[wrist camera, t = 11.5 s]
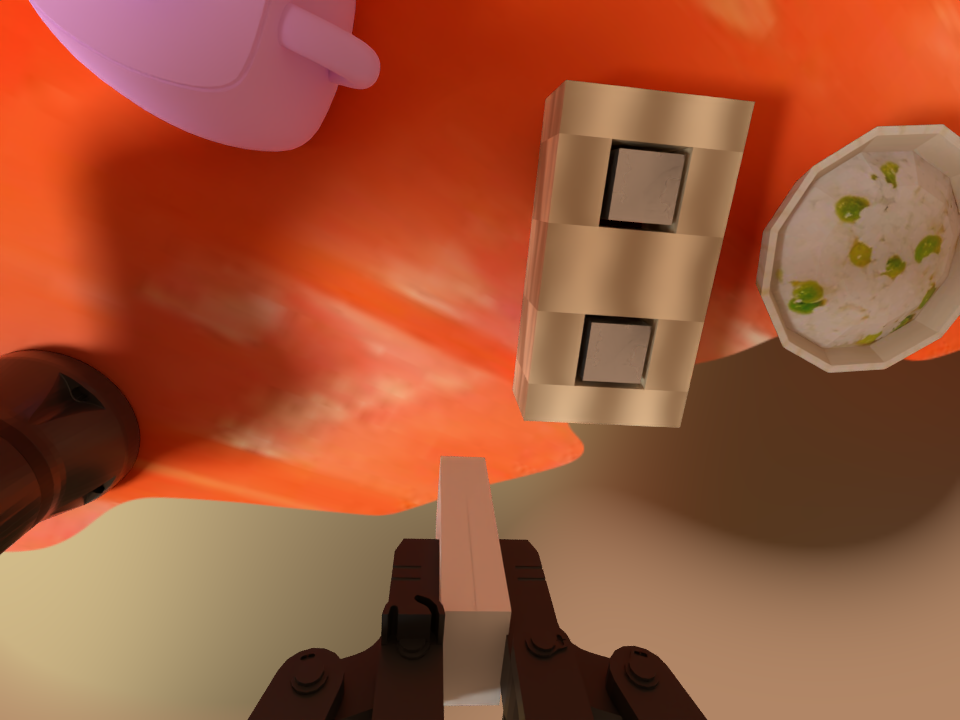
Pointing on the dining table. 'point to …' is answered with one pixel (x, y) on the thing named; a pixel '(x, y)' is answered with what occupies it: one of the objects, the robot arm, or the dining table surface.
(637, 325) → the far peg
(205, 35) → the teapot
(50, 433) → the robot arm
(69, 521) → the dining table surface
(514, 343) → the dining table surface
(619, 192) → the near peg
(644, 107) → the socket block
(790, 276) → the bowl
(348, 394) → the dining table surface
